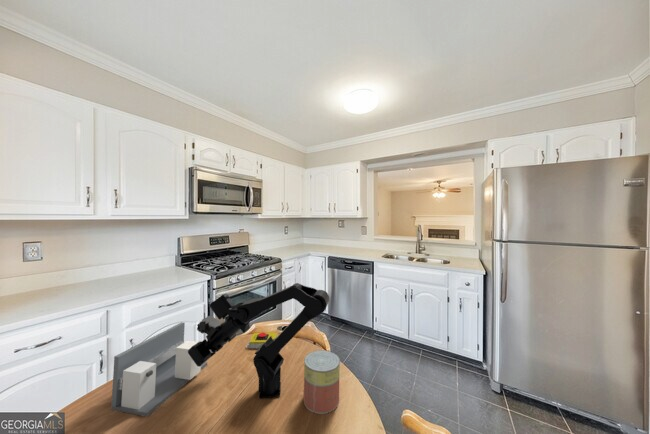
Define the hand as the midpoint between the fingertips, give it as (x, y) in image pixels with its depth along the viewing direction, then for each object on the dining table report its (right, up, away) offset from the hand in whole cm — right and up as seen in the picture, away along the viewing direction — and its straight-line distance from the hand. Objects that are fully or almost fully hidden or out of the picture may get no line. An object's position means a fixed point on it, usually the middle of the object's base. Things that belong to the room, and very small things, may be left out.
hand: (198, 357), depth 80 cm
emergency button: (+16, -10, +25) cm, 32 cm away
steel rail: (-13, -2, -2) cm, 14 cm away
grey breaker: (-11, -6, -12) cm, 17 cm away
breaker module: (-4, -6, 0) cm, 7 cm away
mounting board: (-9, -7, -3) cm, 12 cm away
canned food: (+43, -8, -8) cm, 45 cm away
